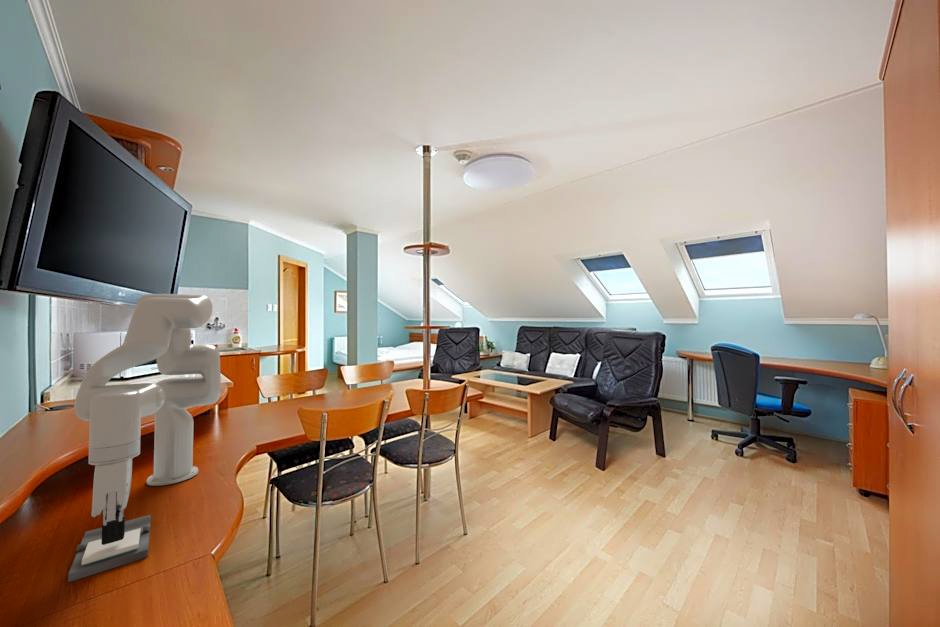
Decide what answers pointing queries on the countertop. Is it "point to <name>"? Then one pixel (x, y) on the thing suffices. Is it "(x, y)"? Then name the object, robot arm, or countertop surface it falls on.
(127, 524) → the board
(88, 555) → the tile
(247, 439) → the countertop surface
